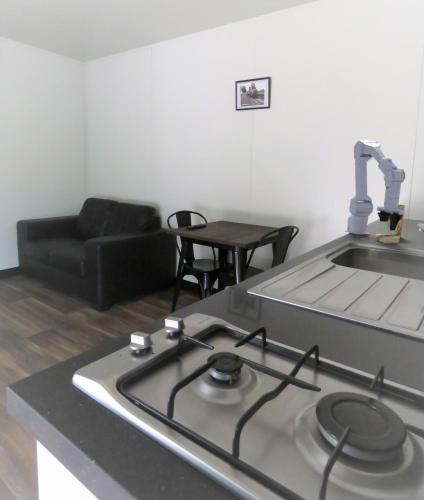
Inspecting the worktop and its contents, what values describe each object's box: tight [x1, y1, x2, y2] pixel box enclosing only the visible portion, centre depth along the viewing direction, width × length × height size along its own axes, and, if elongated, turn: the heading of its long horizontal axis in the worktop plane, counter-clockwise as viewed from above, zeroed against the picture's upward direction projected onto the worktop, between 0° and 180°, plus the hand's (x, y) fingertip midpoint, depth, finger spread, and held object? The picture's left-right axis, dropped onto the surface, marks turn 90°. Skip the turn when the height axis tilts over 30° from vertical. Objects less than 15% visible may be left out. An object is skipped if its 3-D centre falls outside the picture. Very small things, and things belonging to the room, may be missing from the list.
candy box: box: [386, 203, 406, 238], centre depth 175 cm, size 9×4×15 cm, turn 118°
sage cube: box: [377, 220, 397, 235], centre depth 164 cm, size 5×5×5 cm
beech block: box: [374, 233, 401, 244], centre depth 165 cm, size 7×7×3 cm
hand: (388, 229), depth 164 cm, fingers closed on sage cube, 5 cm apart
